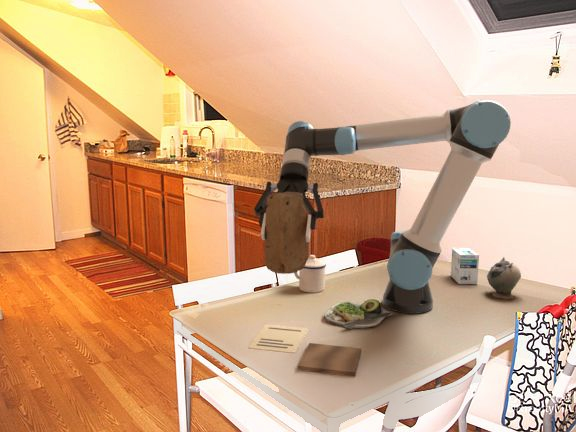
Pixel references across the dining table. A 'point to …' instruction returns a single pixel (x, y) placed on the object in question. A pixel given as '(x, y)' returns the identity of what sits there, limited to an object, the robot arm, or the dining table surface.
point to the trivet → (330, 359)
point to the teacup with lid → (312, 275)
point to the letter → (279, 338)
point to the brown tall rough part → (286, 233)
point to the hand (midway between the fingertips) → (285, 238)
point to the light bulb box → (464, 266)
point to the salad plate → (357, 314)
